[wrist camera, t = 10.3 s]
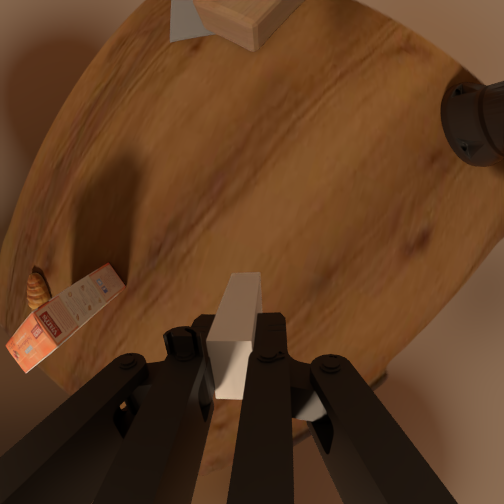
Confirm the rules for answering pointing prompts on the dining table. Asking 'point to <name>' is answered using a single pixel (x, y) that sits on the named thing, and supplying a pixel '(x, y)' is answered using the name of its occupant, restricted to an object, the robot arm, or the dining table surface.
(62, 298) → the cracker box
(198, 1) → the wooden block
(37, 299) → the pastry
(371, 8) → the dining table surface
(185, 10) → the felt pad
